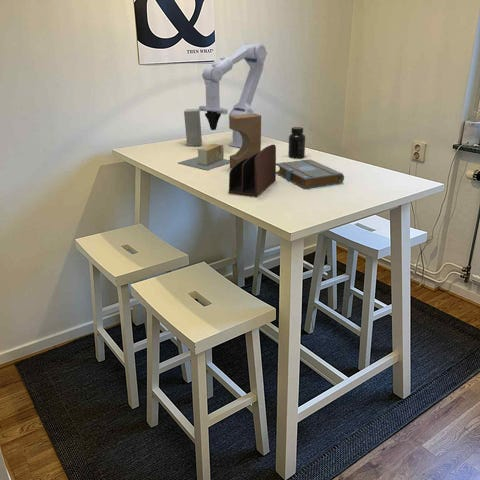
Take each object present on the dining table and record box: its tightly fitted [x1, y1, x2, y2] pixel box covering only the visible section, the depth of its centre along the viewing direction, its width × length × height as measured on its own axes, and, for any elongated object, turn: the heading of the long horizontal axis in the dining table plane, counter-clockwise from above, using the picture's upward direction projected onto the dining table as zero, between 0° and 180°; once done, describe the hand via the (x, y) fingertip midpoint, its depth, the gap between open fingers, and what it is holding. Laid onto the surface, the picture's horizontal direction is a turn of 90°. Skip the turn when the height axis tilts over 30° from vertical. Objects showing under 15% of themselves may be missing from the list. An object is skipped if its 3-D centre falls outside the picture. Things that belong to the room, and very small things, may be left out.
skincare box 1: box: [183, 108, 203, 147], centre depth 220 cm, size 8×7×16 cm
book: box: [276, 158, 345, 190], centre depth 174 cm, size 21×16×5 cm
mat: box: [177, 156, 230, 171], centre depth 194 cm, size 16×16×1 cm
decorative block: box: [228, 112, 262, 170], centre depth 183 cm, size 11×6×20 cm, turn 117°
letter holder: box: [228, 144, 277, 198], centre depth 163 cm, size 10×20×14 cm, turn 158°
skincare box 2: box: [197, 142, 225, 165], centre depth 193 cm, size 6×4×12 cm
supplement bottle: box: [288, 126, 306, 159], centre depth 200 cm, size 7×7×12 cm
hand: (213, 129), depth 207 cm, fingers closed
